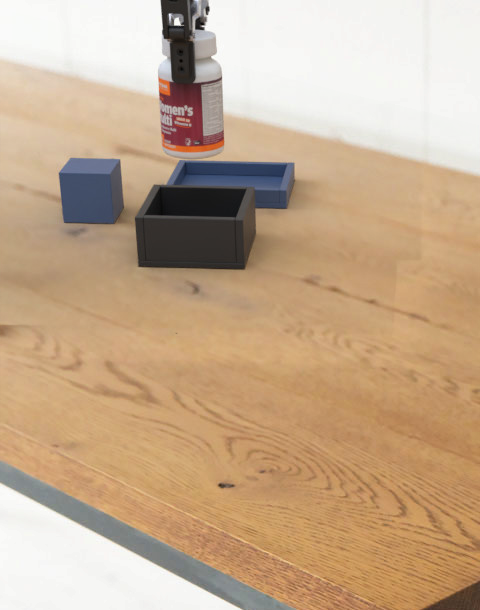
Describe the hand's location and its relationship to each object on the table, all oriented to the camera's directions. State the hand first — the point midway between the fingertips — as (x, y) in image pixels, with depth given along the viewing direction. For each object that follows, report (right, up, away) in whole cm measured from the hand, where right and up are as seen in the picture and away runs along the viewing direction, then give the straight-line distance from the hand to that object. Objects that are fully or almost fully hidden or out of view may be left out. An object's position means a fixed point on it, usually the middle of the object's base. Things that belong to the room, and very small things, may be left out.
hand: (189, 73), depth 130 cm
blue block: (-13, -10, +18) cm, 24 cm away
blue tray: (+2, -7, +25) cm, 26 cm away
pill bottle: (0, -7, +4) cm, 8 cm away
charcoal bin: (0, -16, +9) cm, 18 cm away
